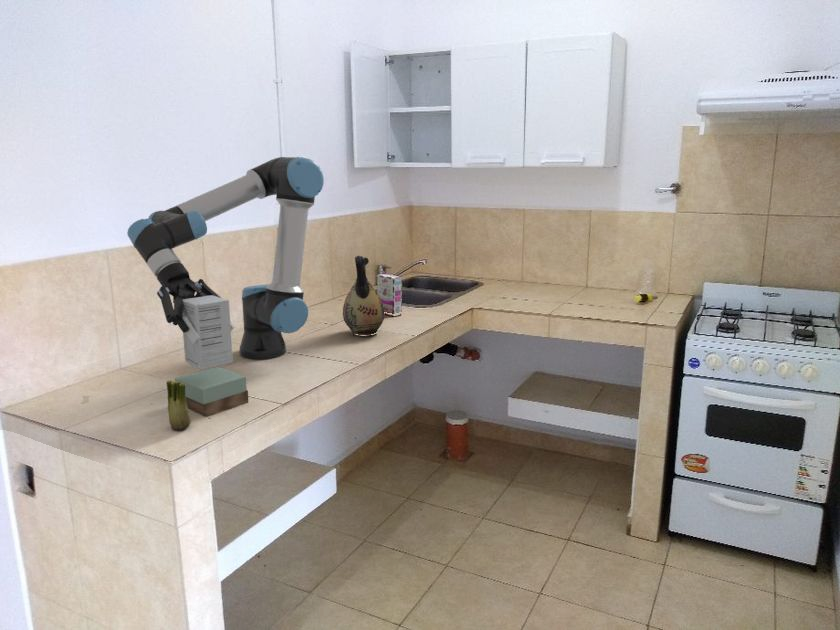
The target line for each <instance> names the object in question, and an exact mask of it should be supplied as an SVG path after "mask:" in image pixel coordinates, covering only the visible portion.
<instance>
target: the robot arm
mask: <svg viewBox="0 0 840 630" xmlns="http://www.w3.org/2000/svg"><path fill="white" fill-rule="evenodd" d="M324 179H325V178H324V174H323V170H322V168H321V167H320V165H318V163H317V162H315V161H314V160H312V159H311V158H307V157H299V156H296V157H295V156H293V157H292V156H291V157H289V156H288V157H287V156H280V157H275V158H273V159H270V160H268V161H266V162H263V163H261V164H260V165H257V166H255V167H253V168H250V169H249V170H247V171H246V174H245V175H242V176H241V177H239V178H237V179H234V180H232V181H230V182H228V183H225V184H223V185H220V186H218V187H216V188H213V189H212V190H209V191H207V192H204V193H202V194H200V195H198V196H195V197H193V198H191V199H188V200H186V201H185V202H184V201H183V202H182V203H180V204H177V205H175V206H172V207H169V208H167V209H165V210H156V211H154V212H152V213H151V214H149V216H148V218H141V219H137V220H136V221H134V222H133V223H132V224H130V225H129V227H128V229H127V233H126V234H127V236H128V238H129V240H130V242H131V244H132V245H133V247H134V249H136V252H138V255H140V257H141V258H142V259H143V261H144V262H145V263H146V265H147V267H148V268H149V269H150V271H151V273H153V275H154V277H156V280H157V281H158V282H159V284H160V288H159V289H158V291H157V292H156V294H157V295H156V296H158V298H159V299H160V302H161V305H162V309H163V313H164V316H165V319H166V322H167V323H168V324H171V323H172V325H173V326H178V327H179V329H180V330H181V331H182V333H183V332H184V333H186V334H187V336H188V337H189V339H190V340H191V342H192V343H193V344H195V343H196V342H197V341H198V340H199V338H200V336H199V334H198V333H197V332H196V330H195V329H194V327H193V326H192V324H191V323H190V322H189V320H188V319H187V317H184V318H183V299H189V298H196V297H203V296H210V295H213V296H216V297H219V298H222V297H221V296H220V295H219V294H218V293H216V292H215V291H214V290H213V289H212V288H211V287H210V286H208V284H206V282H205V281H204V279H202V278H199V279H198V280H197V281H194V280H193V279H191V277H190V273H189V271H188V270H187V268H186V267H185V265H184V264H183V263H182V261H181V260H180V258H179V257H178V255H177V254H176V253H175V251H174V250H173V249H175V248H177V247H179V246H182V245H185V244H187V243H191V242H193V241H195V240H198V239H200V238H202V237H204V236H206V234H207V233H208V226H207V221H209V220H212V219H214V218H215V217H216V218H217V216H220V215H222V214H224V213H227V212H228V211H230V210H233V209H235V208H238V207H240V206H242V205H244V204H246V203H249V202H250V201H253V200H254V199H260V200H263V199H265V198H267V197H271V196H276V197H275V200H276V201H277V202H278V204H279V205H280V206H279V216H278V224H277V225H278V226H277V235H276V244H275V252H274V262H273V271H272V277H271V278H272V280H271V282H270V283H268V284H258V285H257V284H256V285H250V286H246V287H244V288H243V289H242V291H241V292H242V293H241V301H242V319H243V333H242V334H243V335H242V337H241V342H240V345H239V355H240V356H241V357H243V358H246V359H249V360H250V359H252V360H265V359H267V358H268V359H273V357H274V358H277V356H278V357H280V355H281V356H283V355H284V354H286V353H287V351H286V350H287V345H286V342H285V339H284V338H283V334H282V333H284V334H292V333H295V332H298V331H299V330H300V329H302V327H304V325H305V324H306V322H307V320H308V316H309V308H308V305H307V304H306V302H305V301H304V296H305V295H304V293H305V290H304V289H303V288H302V287H301V278H302V267H303V261H304V253H305V252H304V250H305V241H306V235H307V227H308V226H307V225H308V216H309V210H310V209H311V208H312V207H313V206H314V205H315V198H316V197H317V196H318V195H319V194H320V193H321V192H322V190H323V187H324V181H325V180H324ZM171 296H172V299H171ZM172 302H173V303H172ZM230 327H231V332H232V331H233V330H234V329H235V328H236V327H235V324H234V323H233V322H232V321H231V320H230ZM282 354H283V355H282Z"/></svg>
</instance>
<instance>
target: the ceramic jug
mask: <svg viewBox="0 0 840 630" xmlns="http://www.w3.org/2000/svg"><path fill="white" fill-rule="evenodd" d="M354 262H355V270H356V279H355V281H354V283H353V285H352V286H351V288H350V289H349V292H348V293H347V296H346V297H345V299H344V301H343V305H342V317H343V321H344V322H345V323H344V324H345V325H346V326H347V327H348V328H349V329H350V331H351V332H352V334H353V333H354V334H358V335H371V334H374V333H376V332H377V331H378V330H379V328H380V327H382V324H383V323H384V319H385V314H384V307H383V304H382V301H381V298H380V297H379V295H378V293H377V289H375V287H373V285H372V284H371V282H370V281H369V280H368V277H367V273H366V272H367V270H366V266H367V265H368V264H369V262H370V261H369V258H368V257H363V256H362V255H356V256H355V257H354Z"/></svg>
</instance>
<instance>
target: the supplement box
mask: <svg viewBox="0 0 840 630" xmlns="http://www.w3.org/2000/svg"><path fill="white" fill-rule="evenodd" d="M230 311H231V310H230V300H228V299H225V298H223V297H221V298H219V297H216V296H213V295H210V296H203V297H196V298H189V299H183V318H184V317H187V319H188V320H189V322H190V323H191V324H192V326H193V327H194V329H195V330H196V332H197V333H198V334H199V336H200V338H199V340H198V341H197V342H196V343H195V344H193V343H192V342H191V340H190V339H189V337H188V336H187V334H186V333H184V332H182V338H183V339H182V340H183V348H184V349H183V350H184V362H186V363H187V364H190V365H192V366H193V367H196V368H198V369H200V370H205V369H209V368H213V367H217V366H221V365H227V364H231V363H234V362H233V360H234V359H233V346H232V345H233V344H232V331H231V327H230V321H231V314H230Z"/></svg>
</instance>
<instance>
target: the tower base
mask: <svg viewBox="0 0 840 630" xmlns="http://www.w3.org/2000/svg"><path fill="white" fill-rule="evenodd" d="M186 403H187V407H188V410H189V409H190V410H189V411H192V412H194V413H196V414H199V415H201V416H203V417H205V418H208V417H210V416H213V415H215V414H218V413H222V412H225V411H227V410H231V409H233V408H237V407H240V406H243V405H246V404H249V390H248V389H247V391H244V392H241V393H238V394H235V395H232V396H229V397H226V398H222V399H219V400H216V401H213V402H210V403H207V404H201V403H199V402H197V401H195V400H192V399H190V398H188V397H186Z"/></svg>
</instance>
